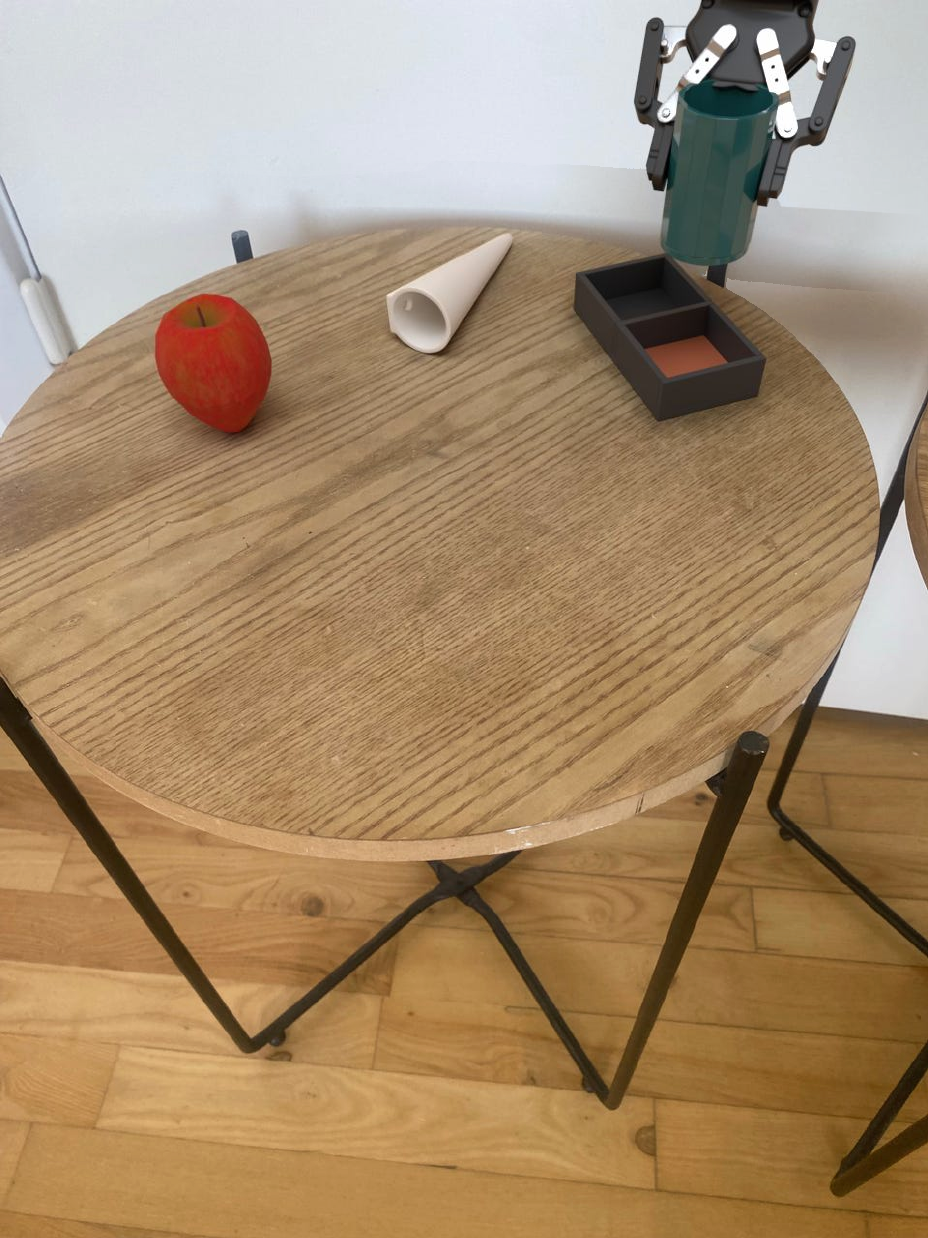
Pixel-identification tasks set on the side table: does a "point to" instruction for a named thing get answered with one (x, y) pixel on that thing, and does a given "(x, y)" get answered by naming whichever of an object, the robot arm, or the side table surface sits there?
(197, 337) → the apple
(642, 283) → the divided tray
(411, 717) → the side table surface
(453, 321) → the long cone
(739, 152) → the cutlery cup
